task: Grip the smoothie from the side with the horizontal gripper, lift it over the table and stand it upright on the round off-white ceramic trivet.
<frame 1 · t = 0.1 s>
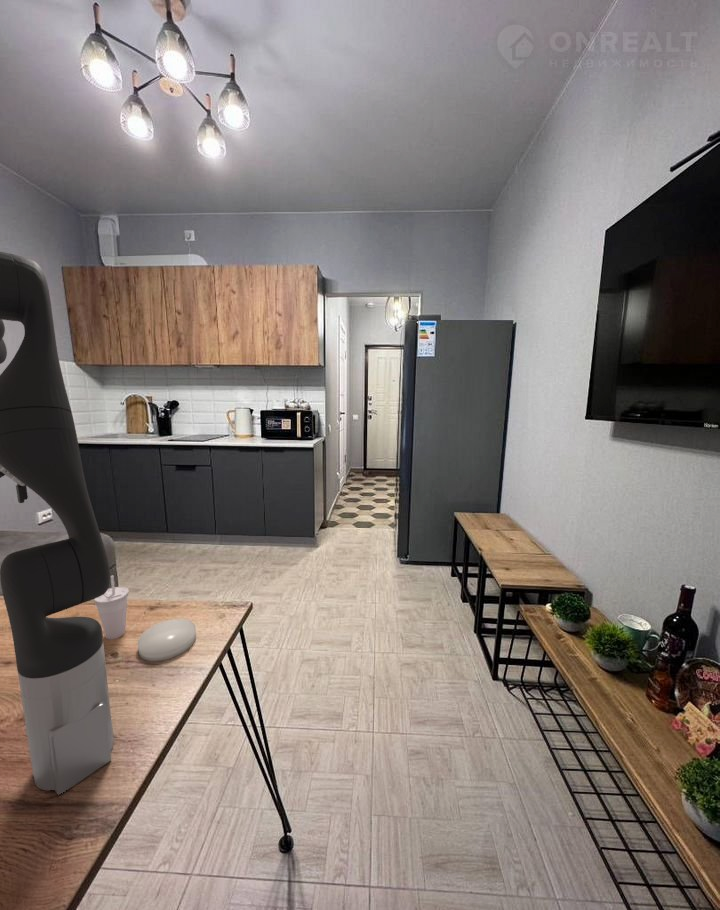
smoothie: (115, 634, 80), on the table
trivet: (168, 642, 77), on the table
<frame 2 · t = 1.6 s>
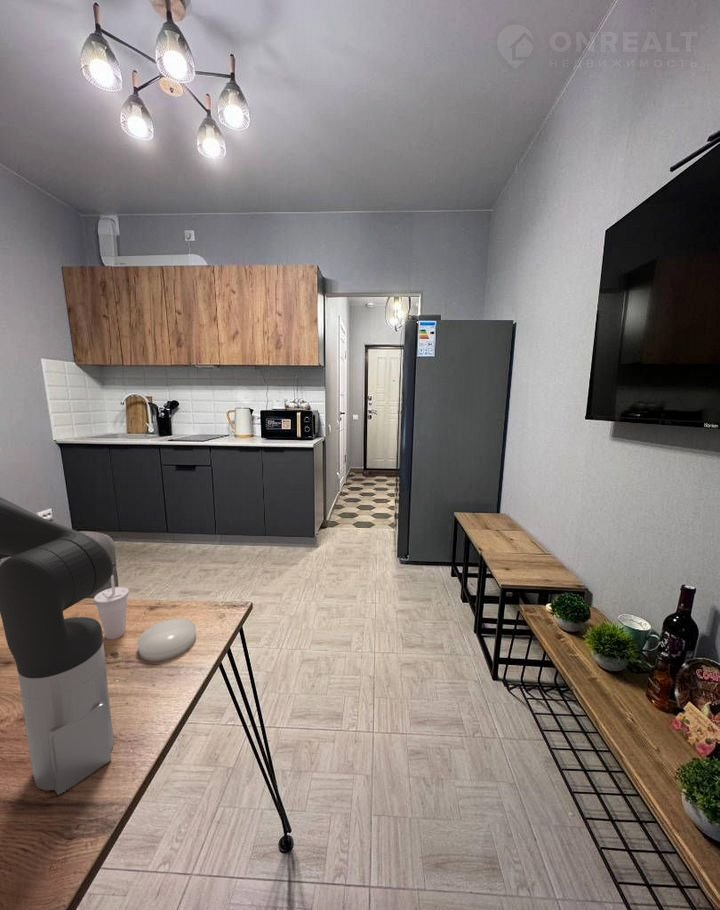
hand: (49, 541, 75), 22 cm above the table, tool horizontal, fingers open, 8 cm apart
nothing on the table moved.
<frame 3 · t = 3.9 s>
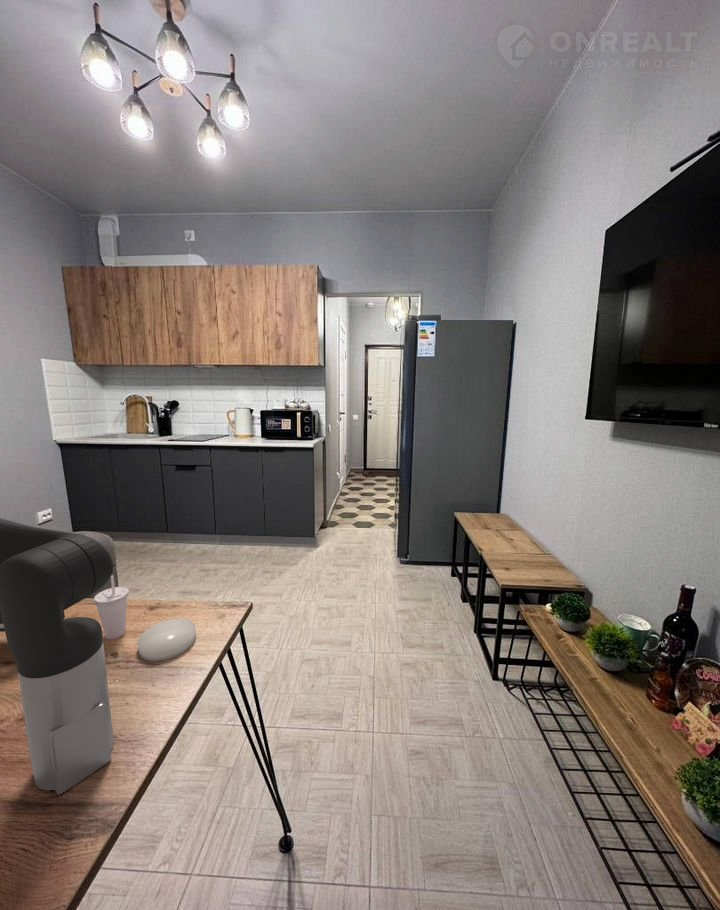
hand: (76, 603, 77), 8 cm above the table, tool horizontal, fingers open, 8 cm apart
nothing on the table moved.
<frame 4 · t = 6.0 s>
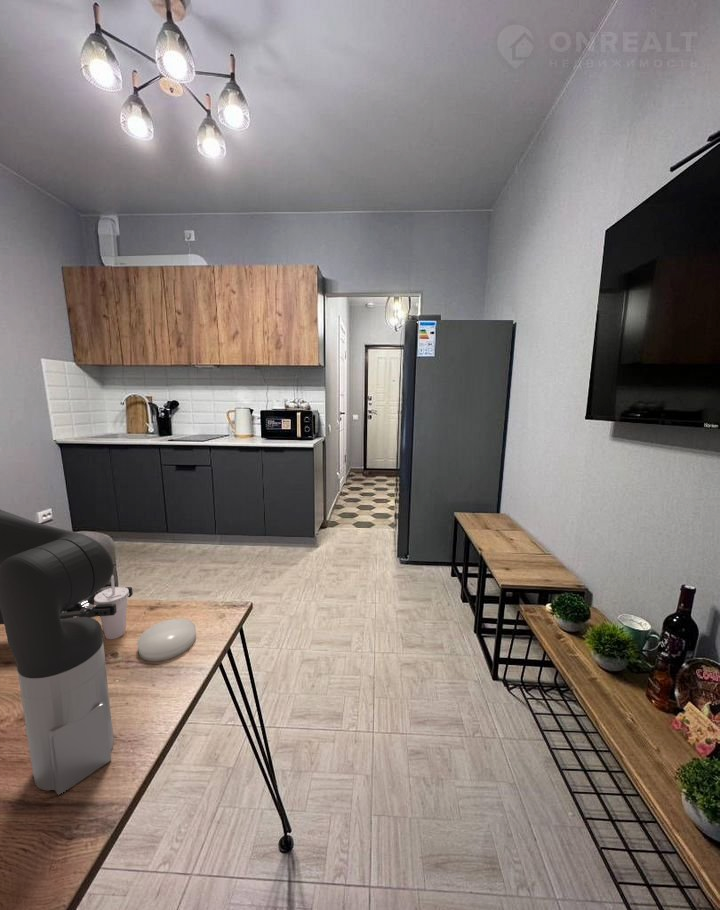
hand: (123, 600, 79), 8 cm above the table, tool horizontal, fingers closed on smoothie, 6 cm apart
smoothie: (115, 634, 80), on the table, touching gripper
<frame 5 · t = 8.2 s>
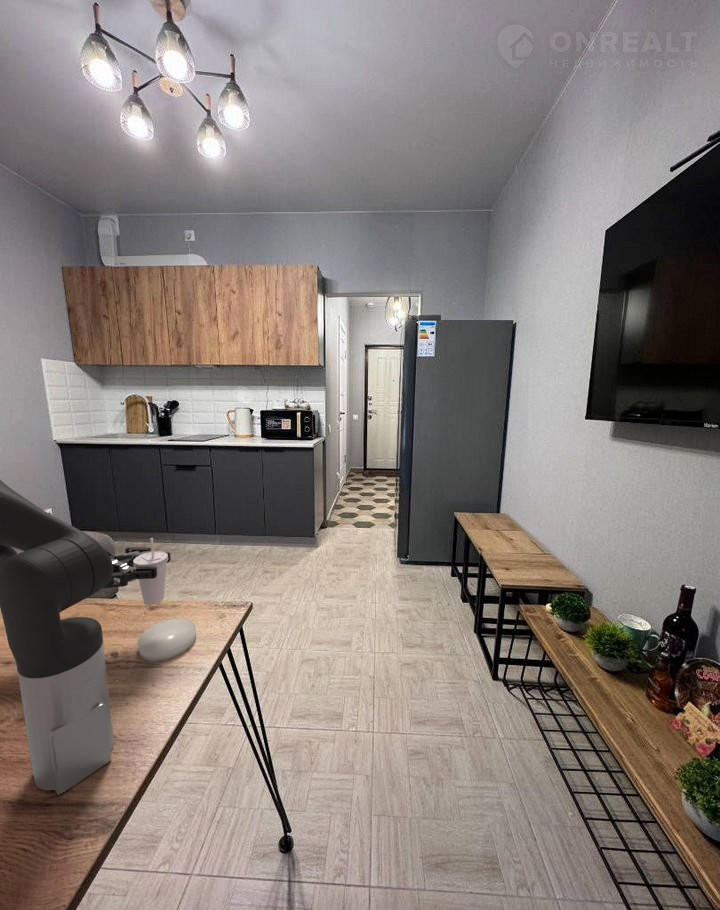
hand: (163, 564, 75), 18 cm above the table, tool horizontal, fingers closed on smoothie, 6 cm apart
smoothie: (154, 600, 76), point 10 cm above the table, touching gripper
when the fingers open (11 cm above the table, at t = 10.2 s): smoothie drops 1 cm, resting on trivet.
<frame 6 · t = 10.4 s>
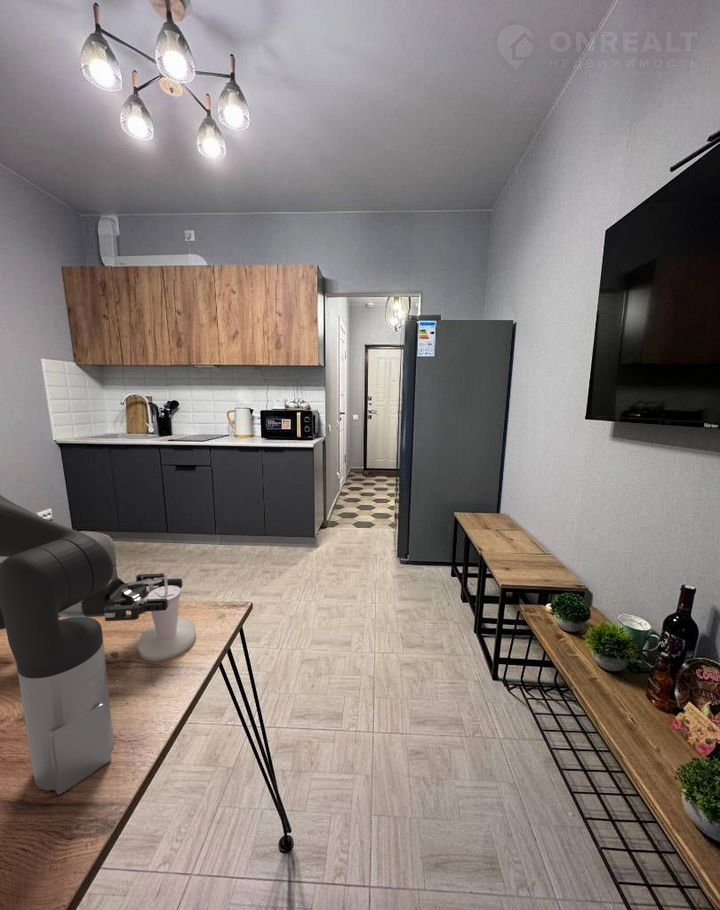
hand: (174, 593, 76), 11 cm above the table, tool horizontal, fingers open, 7 cm apart
smoothie: (166, 634, 77), point 2 cm above the table, touching trivet
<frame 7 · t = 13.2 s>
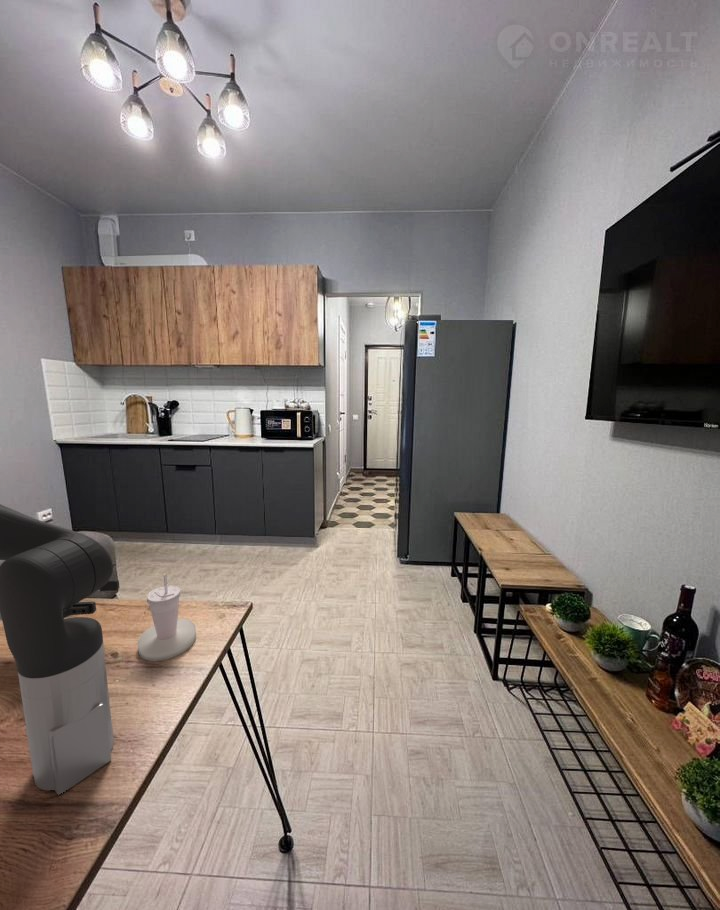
hand: (107, 595, 74), 12 cm above the table, tool horizontal, fingers open, 8 cm apart
nothing on the table moved.
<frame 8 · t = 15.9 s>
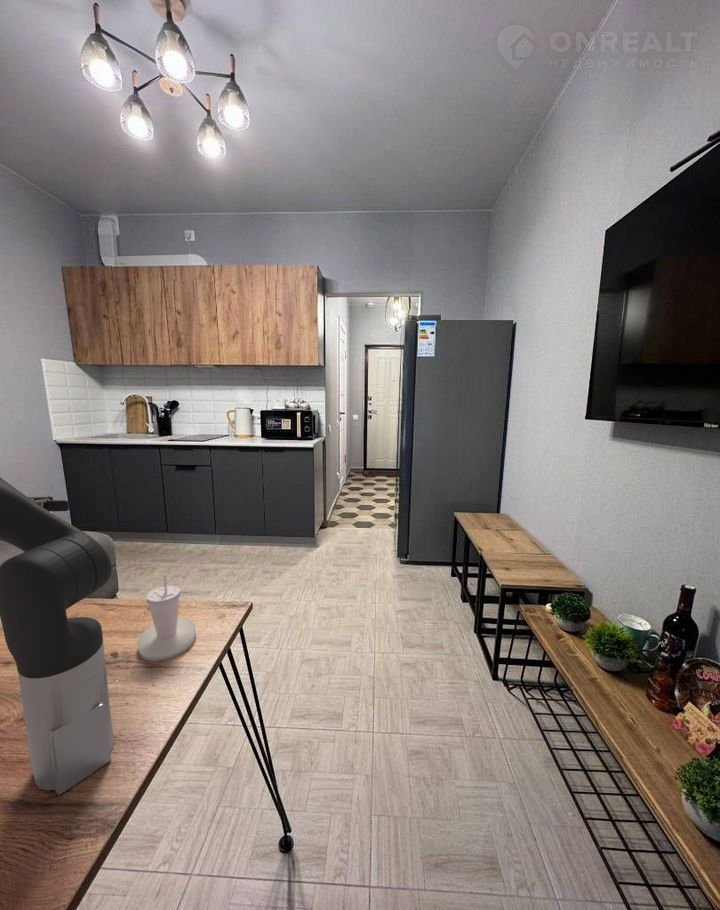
hand: (53, 512, 70), 30 cm above the table, tool horizontal, fingers open, 8 cm apart
nothing on the table moved.
at the end: smoothie inside the target area on the trivet (0.2 cm from its centre), point 1.8 cm above the trivet's base; smoothie tilted 0°; the gripper is holding nothing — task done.
